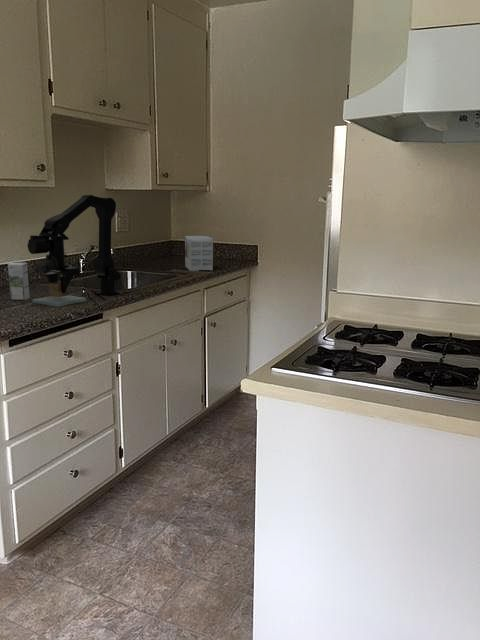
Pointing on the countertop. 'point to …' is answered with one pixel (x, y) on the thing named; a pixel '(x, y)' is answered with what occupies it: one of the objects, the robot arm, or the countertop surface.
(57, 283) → the walnut cube
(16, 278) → the syrup box
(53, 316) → the countertop surface
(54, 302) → the plate
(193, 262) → the supplement box
